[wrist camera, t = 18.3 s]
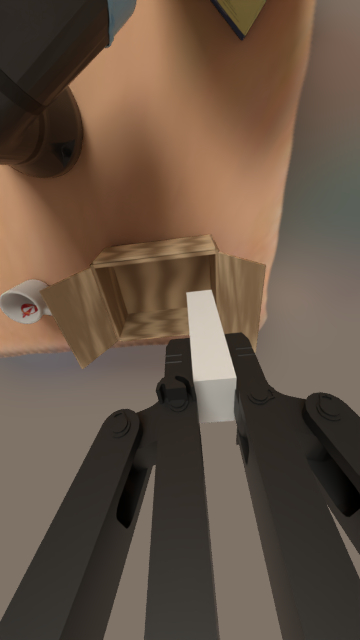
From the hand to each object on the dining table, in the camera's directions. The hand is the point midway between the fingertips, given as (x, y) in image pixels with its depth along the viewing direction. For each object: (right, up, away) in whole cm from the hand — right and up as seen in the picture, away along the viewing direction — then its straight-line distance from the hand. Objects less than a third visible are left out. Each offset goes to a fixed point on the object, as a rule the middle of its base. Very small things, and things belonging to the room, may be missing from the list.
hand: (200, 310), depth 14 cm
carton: (-5, +9, +36) cm, 37 cm away
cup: (-33, +6, +38) cm, 50 cm away
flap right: (+6, +4, +27) cm, 28 cm away
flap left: (-15, +2, +28) cm, 32 cm away
